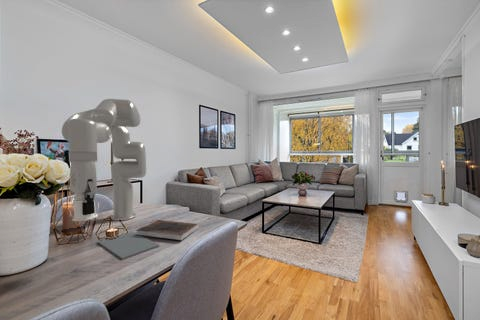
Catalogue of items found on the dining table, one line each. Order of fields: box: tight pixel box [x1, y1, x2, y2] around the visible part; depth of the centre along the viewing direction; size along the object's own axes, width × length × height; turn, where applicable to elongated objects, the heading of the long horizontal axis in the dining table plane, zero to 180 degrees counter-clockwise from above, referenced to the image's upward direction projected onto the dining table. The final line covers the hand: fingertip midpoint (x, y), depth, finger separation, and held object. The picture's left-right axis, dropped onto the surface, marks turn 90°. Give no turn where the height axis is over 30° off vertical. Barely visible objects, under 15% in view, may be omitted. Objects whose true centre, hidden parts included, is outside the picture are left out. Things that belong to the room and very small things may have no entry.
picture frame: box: [135, 219, 199, 241], centre depth 102 cm, size 16×2×22 cm
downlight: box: [69, 191, 100, 222], centre depth 73 cm, size 8×7×10 cm
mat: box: [97, 231, 160, 261], centre depth 88 cm, size 22×14×1 cm, turn 52°
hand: (84, 211), depth 73 cm, fingers closed on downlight, 5 cm apart
